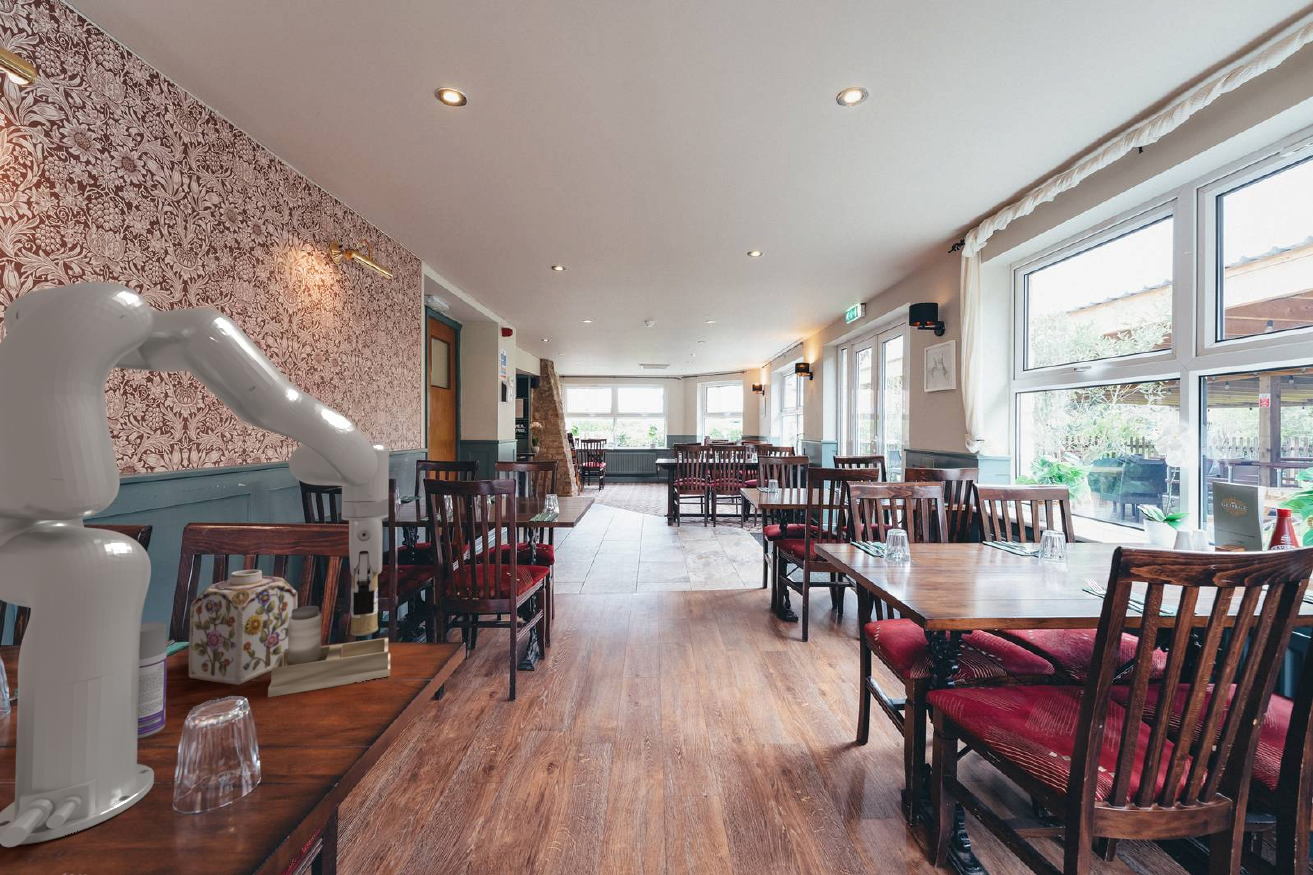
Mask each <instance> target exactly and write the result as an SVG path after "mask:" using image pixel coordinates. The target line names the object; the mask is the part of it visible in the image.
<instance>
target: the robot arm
mask: <svg viewBox="0 0 1313 875" xmlns="http://www.w3.org/2000/svg"><path fill="white" fill-rule="evenodd" d="M3 324H4V329H5V331H6V335H5V336H4V337H3V338H2V339H1V341H0V601H3V602H4V603H6V604H7V603H8V604H11V605H15V606H19V607H25V608H30V614H29V619H28V622H27V626H26V629H25V631H24V634H23V637H22V640H21V644H20V650H19V656H18V664H17V708H16V709H17V714H16V716H17V717H16V744H15V745H16V748H15V750H16V751H15V784H14V786H15V787H14V792H15V793H14V801H13V802H11V803H10V804H8V806H6V807H5V808H3V809H2V810H1V811H0V845H1V846H2V847H6V848H13V847H16V846H20V845H27V844H28V845H29V844H36V843H41V842H46V841H51V840H55V839H58V838H62V837H65V835H66V836H68V834H69V835H71V833H72V834H75V833H78V832H80V831H84V830H86V829H89V828H91V827H93V826H95V825H98V824H101V823H102V822H105V821H107V820H109V819H112V818H114V817H115V816H117V815H119V814H121V813H122V812H124V811H125V810H127V809H129V808H131V807H132V806H133V805H135V804H136V803H137V802H139V801H140V800H142V798H144V797H145V796H146V795H147V793H149V792H150V790H151V789H152V788H153V785H154V782H155V771H154V770H153V769H152V768H151V767H149V766H147V765H145V764H139V763H138V739H137V737H138V695H139V647H140V628H141V624H142V617H143V610H144V606H145V601H146V598H147V595H148V594H147V593H148V590H149V587H150V582H151V576H152V565H151V559H150V556H149V554H148V552H147V551H146V549H145V548H144V547H143V545H141V543H139V541H137V540H136V539H134V538H132V537H131V536H129V535H127V534H124V533H122V532H119V531H115V530H110V529H105V528H95V527H85V525H84V520H83V519H84V518H89V517H91V516H93V515H97V514H98V513H101V512H102V511H105V509H107V508H108V507H109V506H110V505H111V504H112V503H113V502H114V501H115V499H116V498H117V496H118V493H119V490H120V484H121V482H120V473H119V472H120V471H119V468H118V463H117V459H116V455H115V450H114V449H115V448H114V444H113V440H112V436H111V430H110V426H109V422H108V421H109V420H108V417H107V410H106V408H107V406H106V395H105V394H106V393H105V392H106V385H107V381H108V378H109V377H110V374H111V373H112V370H113V369H114V368H116V369H125V370H133V371H134V370H135V371H147V372H166V373H167V372H168V373H169V372H170V373H171V372H172V373H173V372H188V373H190V374H191V375H192V376H193V378H195V379H196V380H198V381H199V382H200V383H201V384H202V385H203V386H204V387H205V388H206V389H207V391H209V392H211V393H212V394H213V395H214V396H215V397H216V398H217V399H218V400H219V401H220V402H222V403H223V405H224V406H225V407H226V408H227V409H229V410H230V411H231V412H232V413H233V415H235V416H236V417H237V418H238V419H239V420H241V421H243V422H245V423H247V424H248V425H251V426H254V427H256V428H259V429H261V430H263V431H267V432H270V433H274V434H277V435H280V436H284V437H287V438H289V439H292V440H294V441H296V442H299V443H301V445H300V446H298V447H297V448H295V450H293V452H292V453H291V455H290V457H289V460H288V468H289V471H290V472H291V475H292V476H293V477H294V478H295V479H297V480H298V481H300V482H301V483H304V484H307V485H313V486H327V487H328V486H340V487H341V520H344V521H348V529H349V530H348V548H349V550H348V551H349V552H348V553H349V565H350V566H349V567H350V575H351V576H352V575H353V576H355V592H354V600H353V614H354V615H362V614H371V613H373V612H374V590H372V587H373V572H377V574H378V575H380V574H381V573H382V571H383V538H384V537H383V534H384V533H383V521H382V520H383V519H386V518H388V517H389V490H390V489H389V488H390V487H389V485H390V484H389V483H390V482H389V480H390V478H389V477H390V476H389V475H390V455H389V454H390V450H389V447H388V446H387V445H386V444H385V443H380V442H369V440H368V439H367V438H366V436H364V434H363V433H362V432H361V431H360V430H359V429H358V427H357V426H355V424H354V423H353V422H352V421H350V420H349V419H348V418H347V417H346V416H344V415H343V414H341V413H340V412H339V411H337V410H335V408H333V407H331V406H329V405H327V404H326V403H324V402H323V401H321V400H320V399H317V398H316V397H315V396H313V395H311V394H310V393H308V392H306V391H304V390H302V389H300V388H298V387H297V386H295V385H294V384H293V383H292V382H291V381H290V380H289V379H288V378H287V377H286V376H285V375H284V374H283V372H282V371H280V369H279V368H278V367H277V366H276V365H275V364H274V363H273V361H271V360H270V358H268V356H266V355H265V353H264V352H263V351H262V350H261V349H260V348H259V347H258V346H257V345H256V344H255V342H254V341H253V339H251V338H250V337H249V336H248V335H247V334H246V333H245V332H244V330H242V328H241V327H240V326H239V325H237V323H236V322H235V321H234V320H232V318H230V317H229V316H228V315H226V314H225V313H223V312H221V311H219V310H215V309H211V308H207V307H190V308H179V309H171V310H170V309H169V310H162V311H161V310H152V308H151V307H150V304H149V303H148V301H147V300H146V299H145V297H143V296H142V295H141V294H140V293H139V292H137V291H135V290H134V289H132V288H130V287H127V286H126V285H125V286H124V285H121V284H119V283H118V284H117V283H112V282H106V281H87V282H80V283H79V282H78V283H71V284H67V285H66V284H65V285H60V286H56V287H50V288H44V289H39V290H38V289H37V290H33V291H29V292H27V293H24V294H22V295H20V296H18V297H17V298H15V299H13V301H12V302H10V303H9V304H8V306H7V307H6V310H5V311H4V315H3ZM370 565H371V566H370ZM354 568H355V570H354ZM367 570H370V573H369V574H367ZM358 571H359V574H358ZM367 577H369V579H367ZM77 831H78V832H77ZM74 832H75V833H74Z"/></svg>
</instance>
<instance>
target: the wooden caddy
mask: <svg viewBox="0 0 1313 875" xmlns="http://www.w3.org/2000/svg"><path fill="white" fill-rule="evenodd" d="M270 673H271V674H270V675H271V676H270V677H271V678H270V679H271V681H270V683H269V686H268V687H267V690H268V691H267V698H272V697H278V696H283V695H290V694H296V693H302V692H309V691H313V690H320V689H325V688H332V687H339V686H344V685H349V684H355V683H354V682H357V683H363V682H362V681H364V682H366V681H365V680H370V679H373V678H381V677H386V676H390V677H391V653H390V652H389V637H382V638H381V637H380V638H376V639H375V638H374V639H367V640H359V641H353V642H352V641H351V642H345V643H336V644H329V645H324V646H322V612H320V606H317V605H305V606H298V607H297V608H296V609H293V610H292V616H291V617H289V632H288V651H284V652H280V654H279V656H278V658H277V660H276V662H275V664H274V666H273V667H272V671H270ZM370 681H371V680H370Z"/></svg>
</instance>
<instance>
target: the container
mask: <svg viewBox="0 0 1313 875" xmlns="http://www.w3.org/2000/svg"><path fill="white" fill-rule="evenodd" d="M167 638H168V637H167V623H166V622H164V621H151V622H144V623H141V628H140V647H139V695H138V737H137V740H138V739H142V738H146V737H149V736H151V735H154V734H156V733H159V732H160V731H161V730H163V729H164V728H165V727H166V706H167V704H166V703H167V702H166V701H167V664H168V663H167V662H168V660H167V659H168V658H167V657H168V654H167V653H168V652H167V650H168V647H167Z"/></svg>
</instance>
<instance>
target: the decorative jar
mask: <svg viewBox="0 0 1313 875" xmlns="http://www.w3.org/2000/svg"><path fill="white" fill-rule="evenodd" d="M296 608H298V591H297V590H296V589H294V587H293V586H292V585H290V583H288V581H286V580H285V579H284V578H283V577H279V576H270V575H263V572H262V570H261V569H244V570H237V571H233V572H231V573H230V574H229V579H228V580H224V581H220V582H217V583H213V584H211V585H209V586H208V587H207V588H206V589H205V590H203V591H202V592H200V593H199V595H198V596H197V597H196V598H195V599H194V600H193V601H192V603H190V611H189V612H190V613H189V636H188V637H189V640H188V676H189V678H190V679H195V680H201V681H207V682H215V683H223V684H229V685H235V686H240V685H242V684H245V683H247V682H249V681H251V680H254V679H256V678H258V677H260V676H263V675H265V674H268V673H271V671H272V667H273V666H274V664H275V662H276V660H277V658H278V656H279V654H280V652H284V651H288V632H289V617H291V616H292V610H293V609H296Z"/></svg>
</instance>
